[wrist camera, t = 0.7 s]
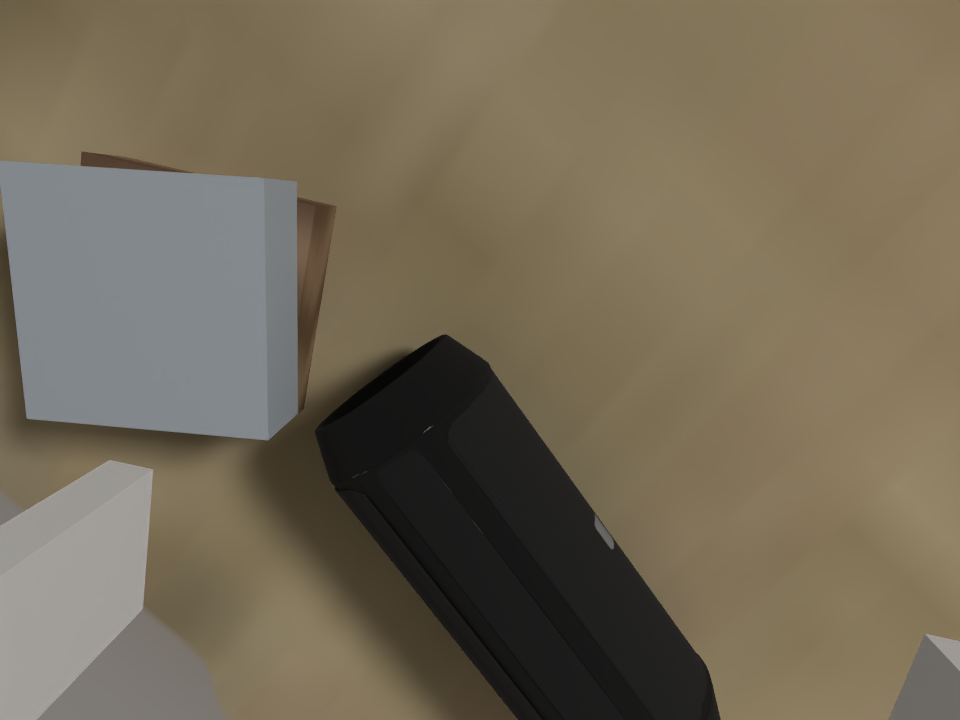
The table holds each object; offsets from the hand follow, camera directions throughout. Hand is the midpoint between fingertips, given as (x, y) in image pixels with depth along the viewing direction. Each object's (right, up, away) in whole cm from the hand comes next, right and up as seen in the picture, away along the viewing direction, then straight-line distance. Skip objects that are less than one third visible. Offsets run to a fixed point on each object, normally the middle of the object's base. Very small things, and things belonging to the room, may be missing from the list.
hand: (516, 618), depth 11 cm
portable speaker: (+2, -6, +28) cm, 29 cm away
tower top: (-16, +8, +22) cm, 28 cm away
